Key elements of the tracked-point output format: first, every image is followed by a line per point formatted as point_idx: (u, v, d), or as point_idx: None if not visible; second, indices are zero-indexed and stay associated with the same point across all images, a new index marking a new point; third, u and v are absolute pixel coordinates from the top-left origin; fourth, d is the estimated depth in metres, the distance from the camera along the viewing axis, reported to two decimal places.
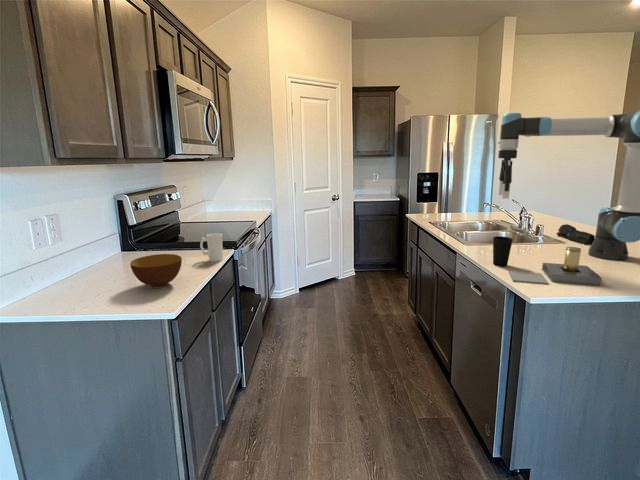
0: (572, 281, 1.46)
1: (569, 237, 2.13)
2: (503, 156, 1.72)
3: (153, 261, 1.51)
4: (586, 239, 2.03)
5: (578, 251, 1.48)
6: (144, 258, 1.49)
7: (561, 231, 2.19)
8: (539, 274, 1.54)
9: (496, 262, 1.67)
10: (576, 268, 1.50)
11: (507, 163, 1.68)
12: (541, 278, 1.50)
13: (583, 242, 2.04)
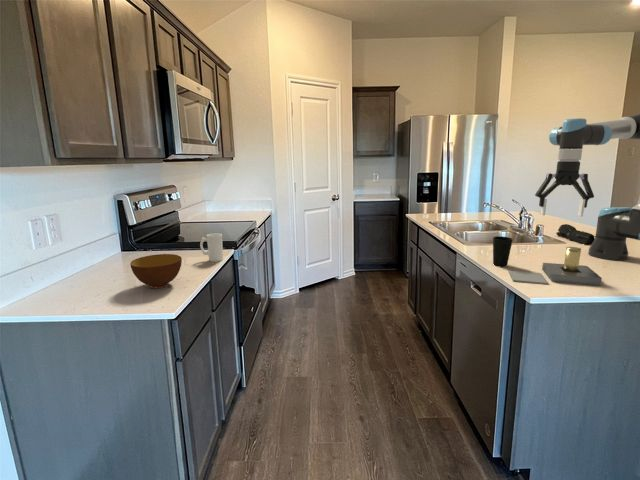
0: (572, 281, 1.46)
1: (569, 237, 2.13)
2: None
3: (153, 261, 1.51)
4: (586, 239, 2.03)
5: (578, 251, 1.48)
6: (144, 258, 1.49)
7: (561, 231, 2.19)
8: (539, 274, 1.54)
9: (496, 262, 1.67)
10: (576, 268, 1.50)
11: (546, 176, 1.52)
12: (541, 278, 1.50)
13: (583, 242, 2.04)
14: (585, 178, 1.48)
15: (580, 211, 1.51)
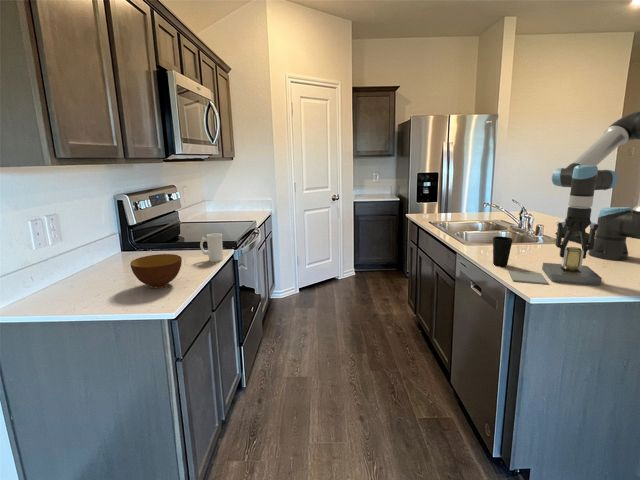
0: (572, 281, 1.46)
1: None
2: None
3: (153, 261, 1.51)
4: None
5: (578, 251, 1.48)
6: (144, 258, 1.49)
7: None
8: (539, 274, 1.54)
9: (496, 262, 1.67)
10: (576, 268, 1.50)
11: (557, 225, 1.51)
12: (541, 278, 1.50)
13: None
14: (594, 228, 1.46)
15: (579, 262, 1.50)
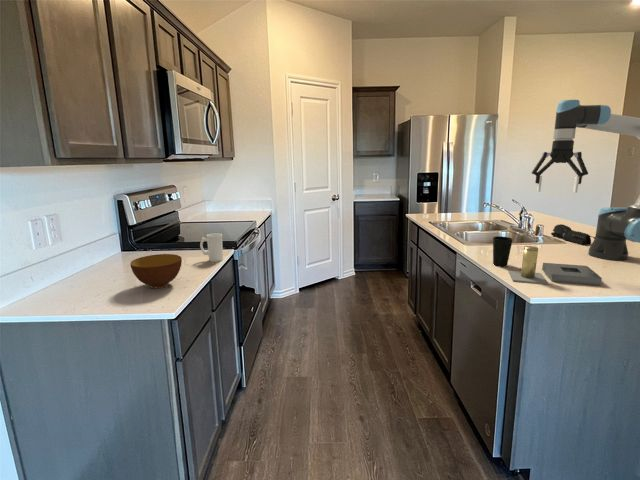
0: (572, 281, 1.46)
1: (564, 237, 2.13)
2: None
3: (153, 261, 1.51)
4: (582, 239, 2.03)
5: (535, 250, 1.47)
6: (144, 258, 1.49)
7: (556, 231, 2.18)
8: (539, 274, 1.54)
9: (496, 262, 1.67)
10: (534, 268, 1.49)
11: (542, 154, 1.63)
12: (541, 278, 1.50)
13: (579, 242, 2.03)
14: (579, 156, 1.57)
15: (575, 187, 1.61)
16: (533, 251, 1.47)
